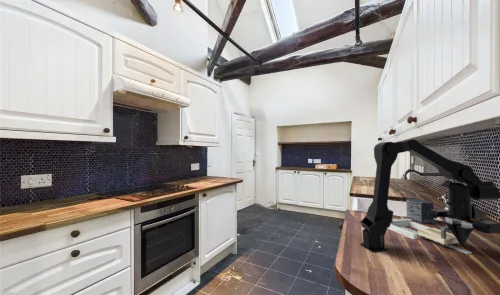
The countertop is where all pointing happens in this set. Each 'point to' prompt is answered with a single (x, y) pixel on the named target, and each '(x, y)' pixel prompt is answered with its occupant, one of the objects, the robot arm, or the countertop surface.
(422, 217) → the small box
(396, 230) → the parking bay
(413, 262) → the countertop surface
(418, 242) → the countertop surface
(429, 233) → the beige hollow block
